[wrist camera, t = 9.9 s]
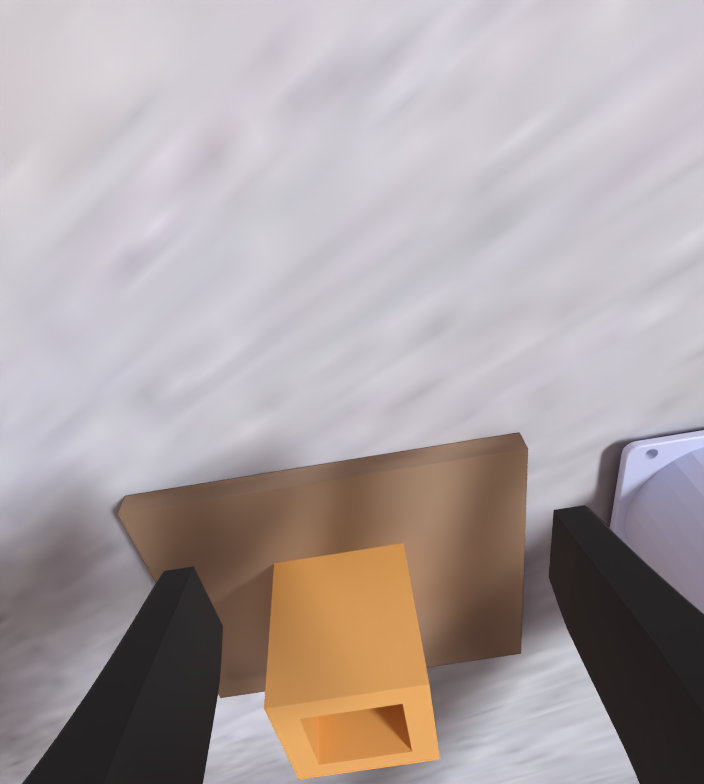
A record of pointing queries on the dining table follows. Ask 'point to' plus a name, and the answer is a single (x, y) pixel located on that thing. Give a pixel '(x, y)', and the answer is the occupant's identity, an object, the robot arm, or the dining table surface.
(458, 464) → the wooden board with peg
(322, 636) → the orange hollow cube
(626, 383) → the dining table surface
